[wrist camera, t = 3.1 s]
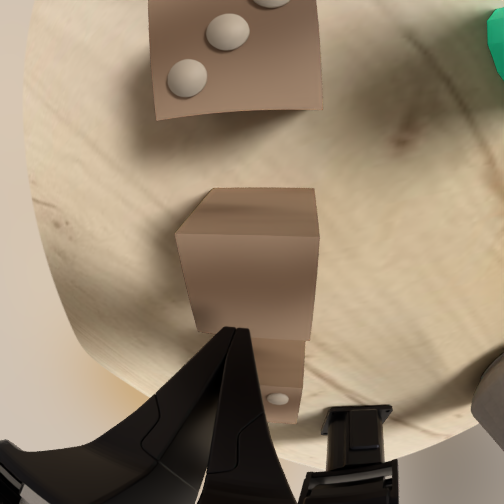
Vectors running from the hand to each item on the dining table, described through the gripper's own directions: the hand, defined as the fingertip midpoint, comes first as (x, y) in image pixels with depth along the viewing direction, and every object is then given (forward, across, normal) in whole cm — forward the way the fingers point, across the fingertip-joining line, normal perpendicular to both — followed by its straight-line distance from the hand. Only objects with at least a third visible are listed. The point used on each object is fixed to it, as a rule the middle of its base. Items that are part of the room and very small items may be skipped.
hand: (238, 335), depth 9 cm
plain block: (+7, 0, 0) cm, 7 cm away
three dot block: (+7, 0, -9) cm, 12 cm away
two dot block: (+7, 0, +9) cm, 11 cm away
